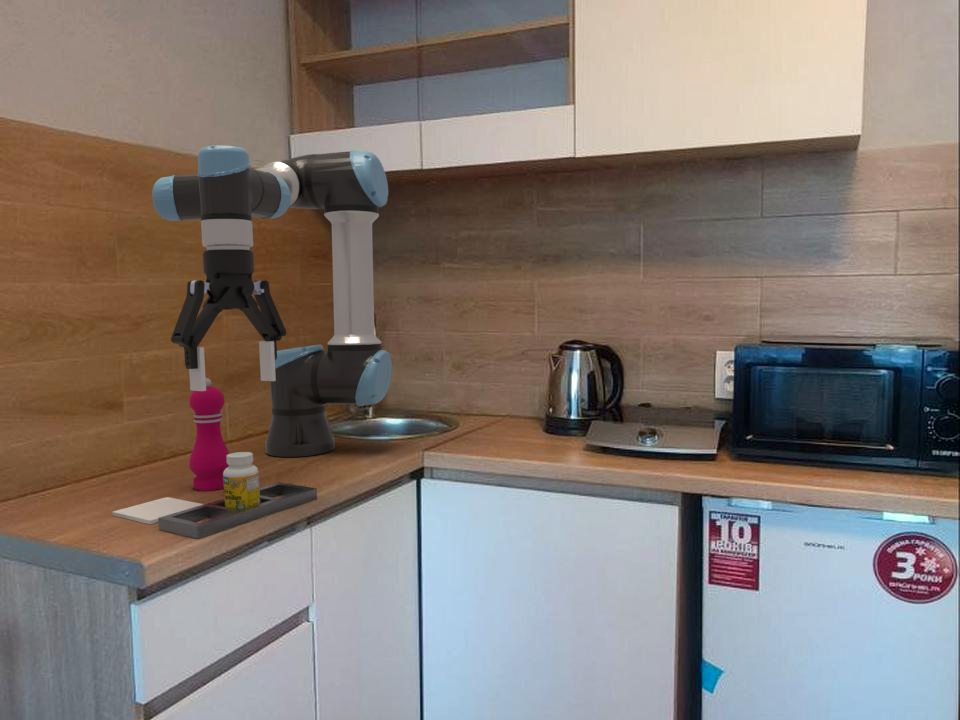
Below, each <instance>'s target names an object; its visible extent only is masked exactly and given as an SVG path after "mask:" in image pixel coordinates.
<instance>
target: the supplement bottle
mask: <svg viewBox="0 0 960 720" xmlns="http://www.w3.org/2000/svg"><path fill="white" fill-rule="evenodd" d="M253 462H254V454H253V452H249V451H239V452H232V453H230V454H228V455H227V464H228V465H229V467H227V468H226V469H225V470H224V472H223V480H224V488H223V491H224V493H223V494H224V498H225V507H227V508H232V509H237V510H242V509H245V508H248V507H251V506H254V505H258V504H260V490H259V488H260V479H259V478H260V477H259V476H260V475H259V468H258V467H257V466H256V465H255V464H253Z"/></svg>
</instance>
